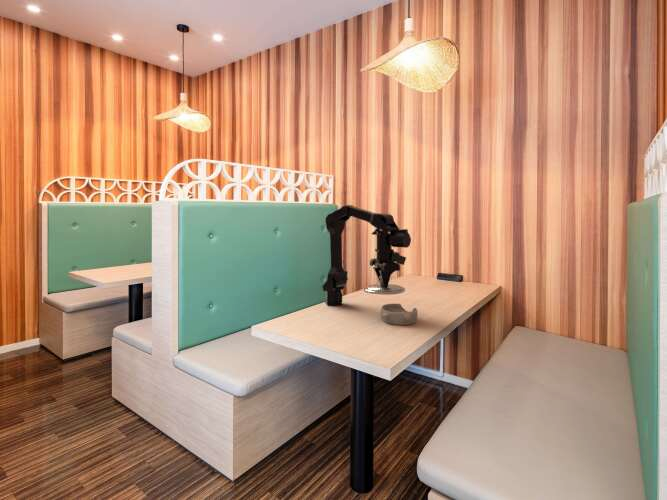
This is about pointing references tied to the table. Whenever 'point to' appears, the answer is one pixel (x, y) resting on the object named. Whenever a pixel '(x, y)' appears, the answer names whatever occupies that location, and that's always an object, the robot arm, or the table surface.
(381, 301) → the table surface
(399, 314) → the dish
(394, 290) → the lid
